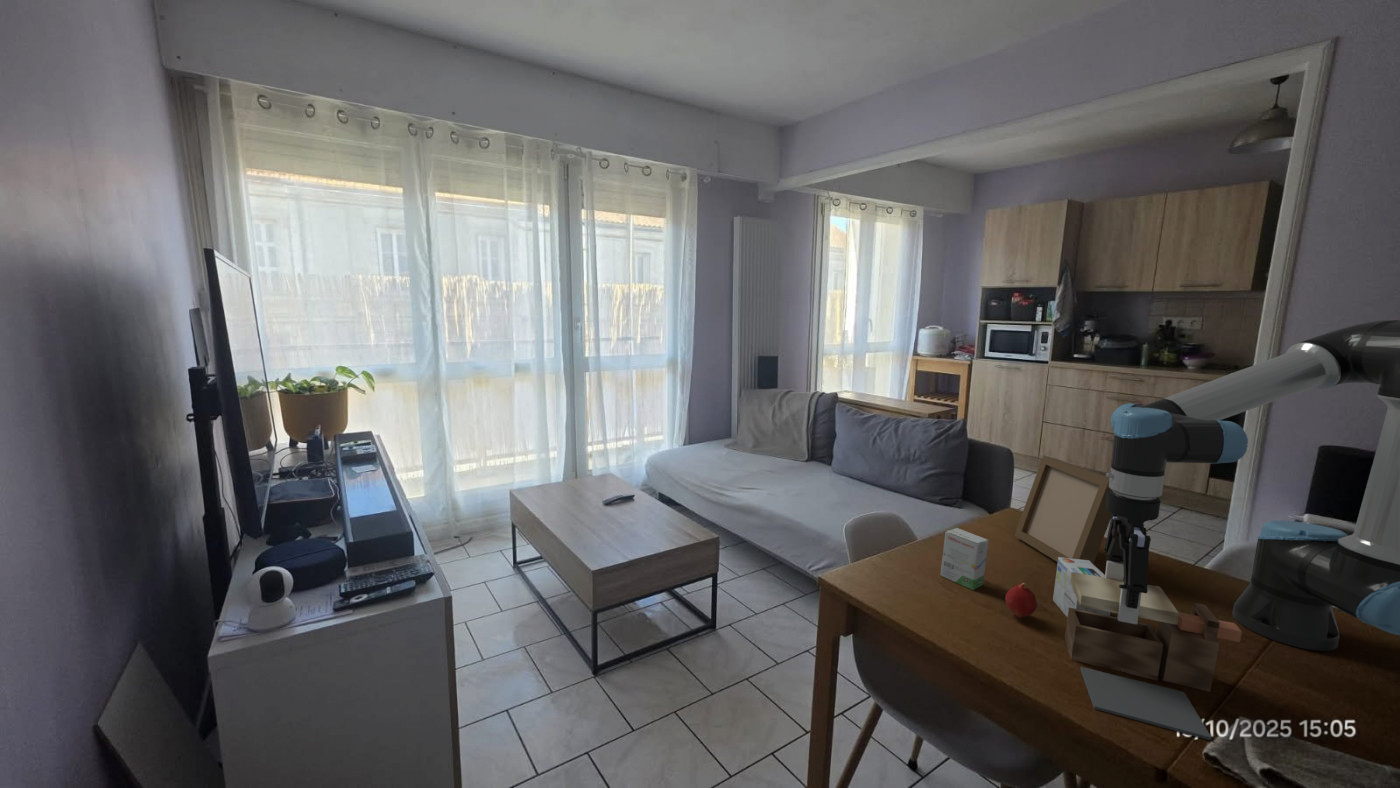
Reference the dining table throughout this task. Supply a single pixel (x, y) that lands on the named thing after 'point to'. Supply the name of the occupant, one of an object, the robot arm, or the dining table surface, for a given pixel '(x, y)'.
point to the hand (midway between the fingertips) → (1119, 606)
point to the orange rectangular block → (1197, 625)
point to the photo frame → (1065, 511)
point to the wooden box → (1146, 647)
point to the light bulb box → (1063, 587)
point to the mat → (1143, 702)
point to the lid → (1107, 597)
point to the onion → (1021, 600)
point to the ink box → (964, 558)
